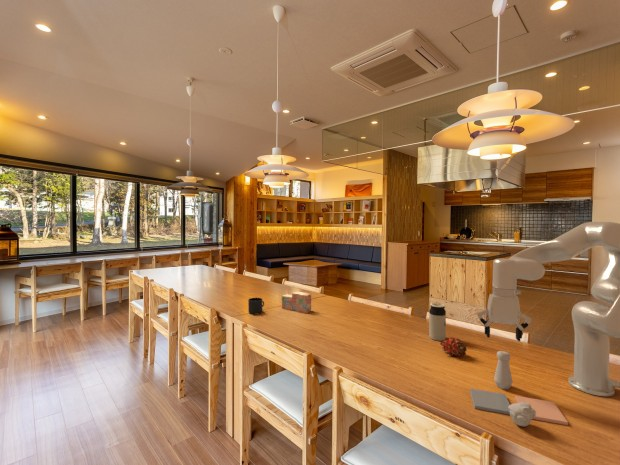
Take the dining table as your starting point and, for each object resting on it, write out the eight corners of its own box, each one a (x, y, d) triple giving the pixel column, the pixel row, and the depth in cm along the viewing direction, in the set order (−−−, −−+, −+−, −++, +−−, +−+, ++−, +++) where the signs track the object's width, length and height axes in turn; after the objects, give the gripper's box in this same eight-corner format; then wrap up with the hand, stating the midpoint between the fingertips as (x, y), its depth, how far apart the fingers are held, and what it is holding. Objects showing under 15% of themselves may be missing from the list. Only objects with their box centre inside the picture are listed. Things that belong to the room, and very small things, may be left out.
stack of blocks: (281, 308, 220) (281, 291, 220) (287, 306, 225) (286, 290, 225) (306, 313, 208) (306, 295, 208) (311, 311, 214) (311, 293, 213)
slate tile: (505, 396, 107) (505, 394, 107) (513, 415, 97) (513, 412, 97) (469, 391, 111) (469, 388, 111) (474, 408, 101) (474, 405, 101)
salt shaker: (495, 380, 118) (495, 347, 118) (513, 385, 115) (513, 351, 114) (492, 387, 114) (493, 352, 113) (511, 392, 110) (511, 357, 110)
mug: (268, 311, 213) (268, 298, 213) (253, 315, 205) (253, 301, 204) (260, 308, 220) (260, 296, 219) (245, 312, 211) (245, 299, 211)
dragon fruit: (467, 363, 136) (441, 358, 145) (472, 347, 141) (447, 343, 150) (460, 350, 134) (434, 346, 143) (465, 335, 138) (440, 332, 148)
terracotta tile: (553, 404, 103) (553, 401, 103) (567, 425, 92) (567, 422, 92) (514, 398, 106) (515, 395, 106) (524, 417, 96) (524, 414, 96)
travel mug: (426, 338, 162) (427, 304, 161) (432, 334, 167) (432, 301, 167) (442, 342, 156) (442, 307, 155) (447, 338, 162) (448, 304, 161)
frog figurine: (534, 435, 88) (535, 411, 88) (506, 425, 93) (506, 402, 92) (536, 425, 93) (537, 402, 92) (509, 415, 97) (509, 394, 97)
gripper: (528, 292, 113) (527, 337, 114) (476, 288, 119) (474, 331, 120) (535, 296, 106) (533, 345, 107) (479, 292, 112) (478, 338, 113)
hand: (502, 338), depth 114 cm, fingers open, 9 cm apart
